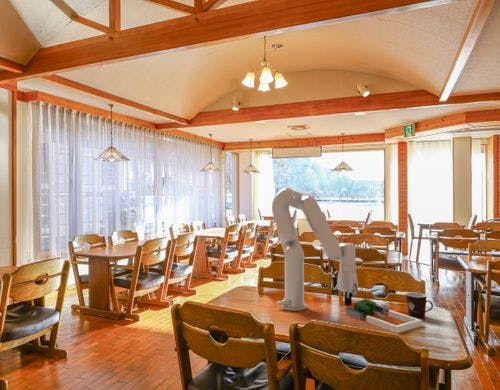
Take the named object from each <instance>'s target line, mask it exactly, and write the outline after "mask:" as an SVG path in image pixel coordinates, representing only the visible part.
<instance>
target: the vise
mask: <svg viewBox="0 0 500 390" xmlns="http://www.w3.org/2000/svg"><path fill="white" fill-rule="evenodd" d="M388 308H389V309H391V305H387V304H385V303H380V304H377V305H376V307H375V308H374V311H373V312H374V313H375V312H376V313H379V314H381V315H385V314H387V311H388ZM345 315H346V316H349V317H351V318H354V319H357V320H358V321H362V320H364V315H363V312H360V311H358V310H355V309H354V308H352V307H349V306H347V307H345Z"/></svg>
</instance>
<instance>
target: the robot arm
mask: <svg viewBox="0 0 500 390" xmlns="http://www.w3.org/2000/svg"><path fill="white" fill-rule="evenodd" d="M290 207H291V208H294V209H297V210H300V211H302V213H303V216H304V217H305V219H306V221H307V223H308V226H309V227H310V230H312V232H313V233H314V235H315V236H316V237H317V239H318V241H319V243H320V244H321V247H322V248H323V253H324V255H325V256H326V257H327V258H328V259H330V260H332V261H337V260H339V270H338V271H337V283H336V284H337V286H336V287H337V289H338V290H339V292H341V293H342V295H343V297H344V306H346V307H349V306H352V305H353V303H352V301H353V300H352V299H353V297H354V296H357V295H358V291H359V283H358V274H357V271H356V270H357V269H356V267H357V265H356V245H355V244H354V243H352V242H341V243H340V242H338V240H337V237H336V236H335V234H334V233H333V231H332V229H331V227H330V224H329V223H328V221H327V218H326V217H325V216H324V213H323V211H322V210H321V207H320V205H319V203H318V201H317V200H316V198H315V197H314V196H312V195H308V194H304V193H301V192H299V191H296V190H294V189H292V188H290V187H283V188H281V189H280V190H279V191H278V192H277V194H275V196H274V198H273V201H272V203H271V210H272V211H271V212H272V216H273V219H274V223H275V227H276V230H277V235H278V237H279V241H280V244H281V247H282V250H283V251H282V252H283V254H284V255H283V256H284V297H283V298H282V300H280V301H279V300H278V301H276V305H277V307H278V306H279V307H280V306H281V308H282V307H283V308H282V309H284V310H287V311H293V312H298V311H304V310H306V309H308V304H307V303H305V276H304V275H305V273H304V271H305V270H304V269H305V253H304V250H303V247H302V244H301V242H300V239H299V236H298V233H297V228H296V226H295V224H294V222H293V218H292V215H291V212H290Z"/></svg>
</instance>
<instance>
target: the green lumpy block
mask: <svg viewBox="0 0 500 390" xmlns="http://www.w3.org/2000/svg"><path fill="white" fill-rule="evenodd" d="M376 305H378V304H377V303H376V302H375V301H373V300H370V299H368V298H364V299H363V298H362V300H359V301H357V302H354V306H353V309H355V310H358V311H360V312H363V316H364V317H366V316H369V314H371V315H374V312H375V311H374V308H375V307H376Z"/></svg>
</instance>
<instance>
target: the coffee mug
mask: <svg viewBox="0 0 500 390" xmlns="http://www.w3.org/2000/svg"><path fill="white" fill-rule="evenodd" d="M405 297H406V304H407V310H408V311H407V312H408V316H411V317H414V318H417V319H420V320H423V319H425V314H426V313H428V312H429V311H431V310H432V309H433V308H434V303H433V302H431V300H428V299H427V297H428V296H427V295H426V293H421V292H415V291H414V292H413V291H412V292H406V293H405ZM427 302H428V303H429V304H430V306H431V307H430V308H429V309H426V305H427V304H426V303H427Z"/></svg>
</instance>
